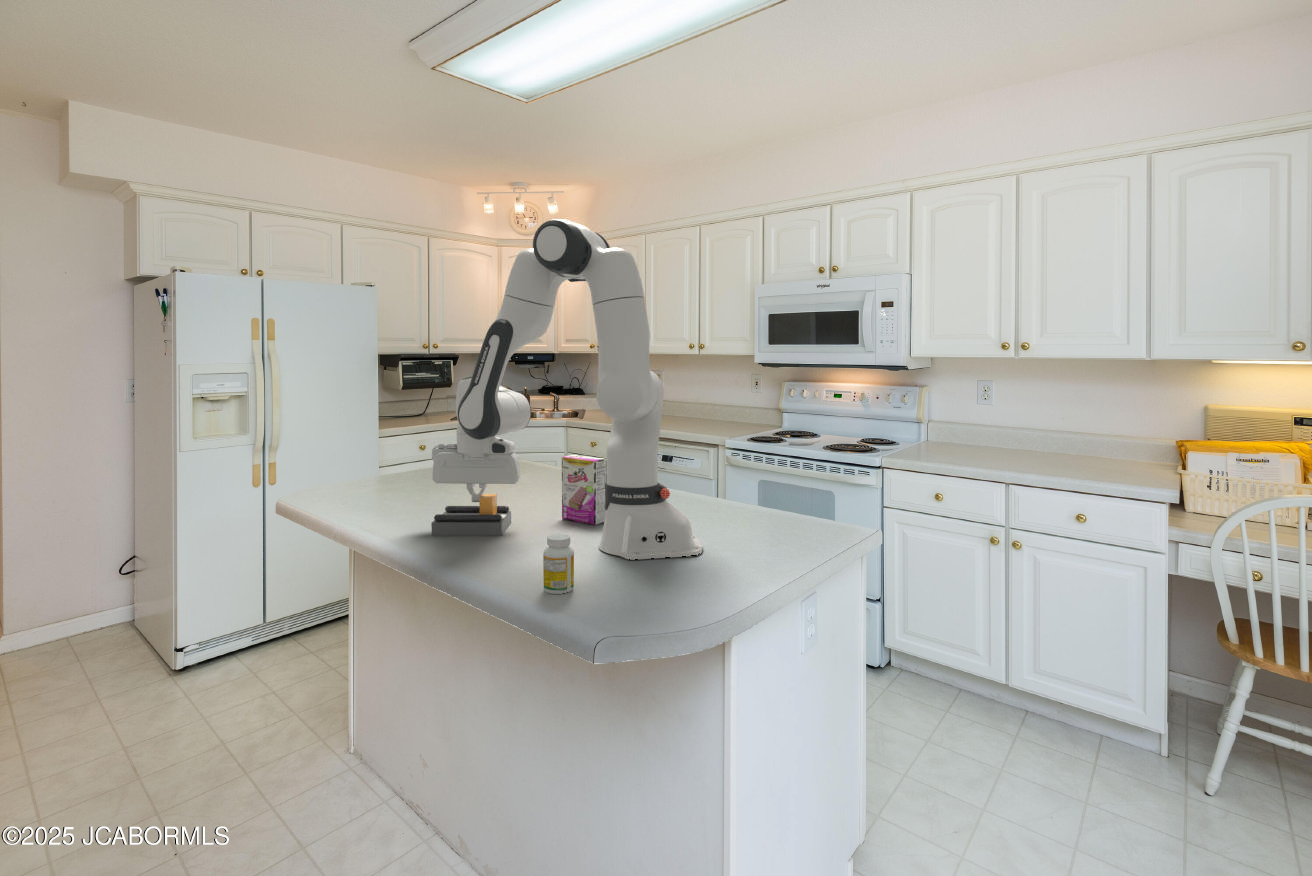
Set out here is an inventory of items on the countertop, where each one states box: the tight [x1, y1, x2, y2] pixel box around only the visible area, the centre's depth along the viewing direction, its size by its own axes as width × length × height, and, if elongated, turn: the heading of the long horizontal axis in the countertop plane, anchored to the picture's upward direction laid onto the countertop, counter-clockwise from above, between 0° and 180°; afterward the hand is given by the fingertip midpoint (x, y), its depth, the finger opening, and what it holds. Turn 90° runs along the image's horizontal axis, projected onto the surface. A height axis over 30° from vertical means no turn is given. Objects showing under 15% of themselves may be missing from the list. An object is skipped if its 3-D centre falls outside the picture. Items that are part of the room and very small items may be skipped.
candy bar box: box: [561, 454, 607, 526], centre depth 162 cm, size 11×5×16 cm, turn 58°
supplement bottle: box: [542, 533, 575, 595], centre depth 113 cm, size 5×5×10 cm
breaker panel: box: [430, 505, 512, 537], centre depth 154 cm, size 16×12×5 cm
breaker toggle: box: [479, 493, 498, 514], centre depth 153 cm, size 3×5×4 cm, turn 3°
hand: (477, 501), depth 153 cm, fingers closed
